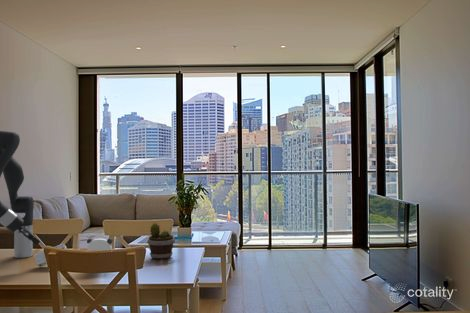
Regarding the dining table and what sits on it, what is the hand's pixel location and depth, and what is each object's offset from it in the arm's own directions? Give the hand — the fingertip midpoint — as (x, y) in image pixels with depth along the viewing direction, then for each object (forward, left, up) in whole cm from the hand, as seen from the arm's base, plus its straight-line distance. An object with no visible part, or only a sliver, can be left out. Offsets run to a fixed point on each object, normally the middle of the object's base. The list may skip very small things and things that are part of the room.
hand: (38, 243), depth 214 cm
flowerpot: (+16, +59, -12) cm, 62 cm away
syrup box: (+1, -1, -8) cm, 8 cm away
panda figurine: (+23, +24, -12) cm, 35 cm away
